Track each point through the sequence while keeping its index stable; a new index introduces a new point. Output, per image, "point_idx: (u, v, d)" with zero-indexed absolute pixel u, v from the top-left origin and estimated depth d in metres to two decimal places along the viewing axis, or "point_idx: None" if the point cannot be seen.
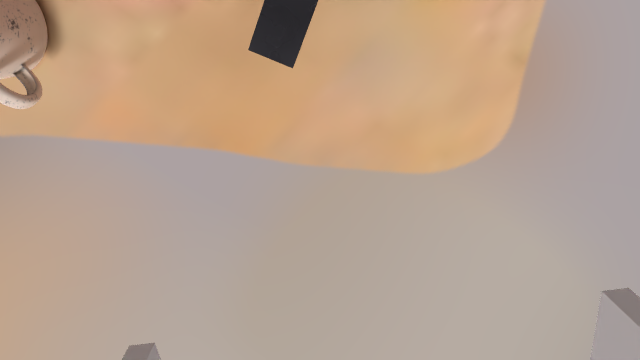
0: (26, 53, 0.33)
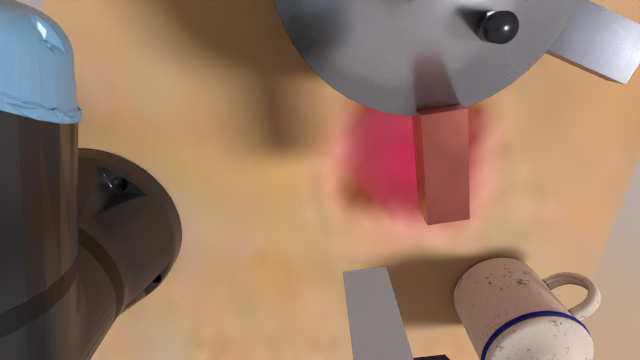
0: (536, 277, 0.38)
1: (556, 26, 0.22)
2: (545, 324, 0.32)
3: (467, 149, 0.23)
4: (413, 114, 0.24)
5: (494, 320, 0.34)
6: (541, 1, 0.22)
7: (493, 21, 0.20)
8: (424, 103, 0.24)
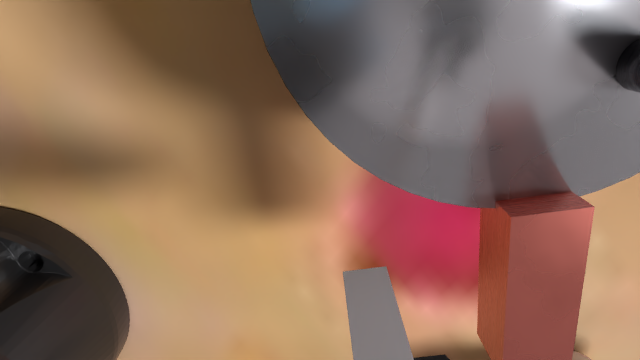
0: None
1: None
2: None
3: (583, 271, 0.14)
4: (489, 206, 0.14)
5: None
6: None
7: None
8: (510, 189, 0.14)
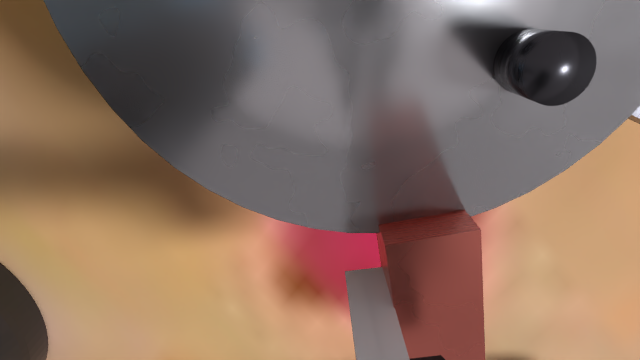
0: None
1: None
2: None
3: (481, 301, 0.12)
4: (373, 231, 0.12)
5: None
6: (635, 5, 0.10)
7: (537, 57, 0.09)
8: (393, 211, 0.12)
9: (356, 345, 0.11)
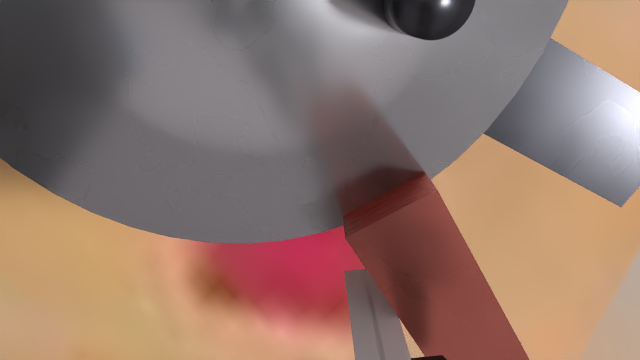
0: None
1: None
2: None
3: (473, 261, 0.11)
4: (341, 223, 0.12)
5: None
6: None
7: None
8: (352, 197, 0.11)
9: (355, 345, 0.11)
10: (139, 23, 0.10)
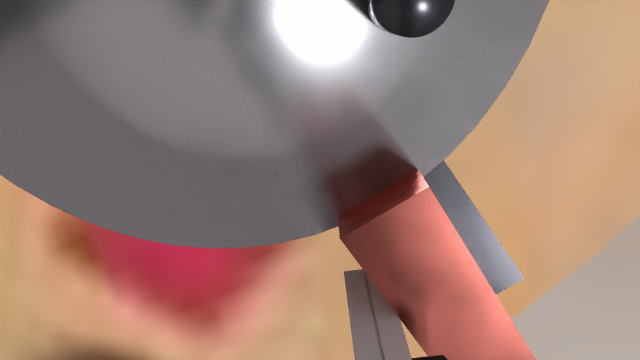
0: None
1: None
2: None
3: (469, 257, 0.11)
4: (336, 224, 0.12)
5: None
6: None
7: None
8: (346, 198, 0.11)
9: (354, 345, 0.11)
10: (126, 34, 0.10)
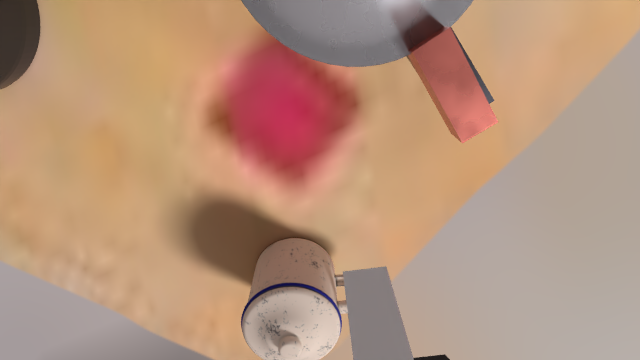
0: (330, 269, 0.41)
1: None
2: (309, 297, 0.35)
3: (466, 62, 0.25)
4: (407, 54, 0.26)
5: (274, 279, 0.36)
6: None
7: None
8: (412, 40, 0.26)
9: (353, 345, 0.11)
10: None
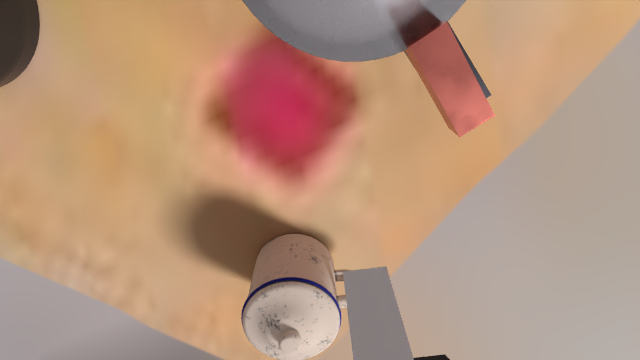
0: (330, 264, 0.42)
1: None
2: (309, 291, 0.35)
3: (463, 56, 0.25)
4: (404, 49, 0.26)
5: (273, 274, 0.37)
6: None
7: None
8: (409, 35, 0.26)
9: (353, 345, 0.11)
10: None
